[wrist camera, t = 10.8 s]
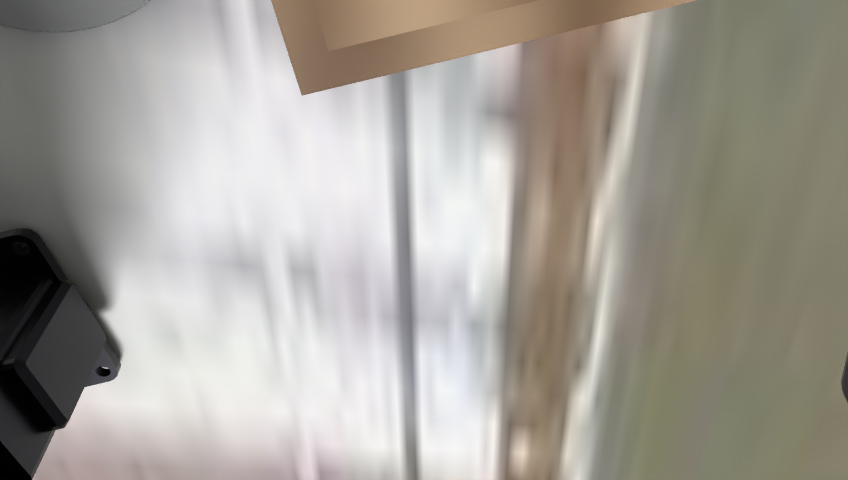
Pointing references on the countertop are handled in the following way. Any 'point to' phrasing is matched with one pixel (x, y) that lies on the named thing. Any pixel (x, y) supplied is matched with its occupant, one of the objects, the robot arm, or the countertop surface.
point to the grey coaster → (64, 13)
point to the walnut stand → (423, 31)
